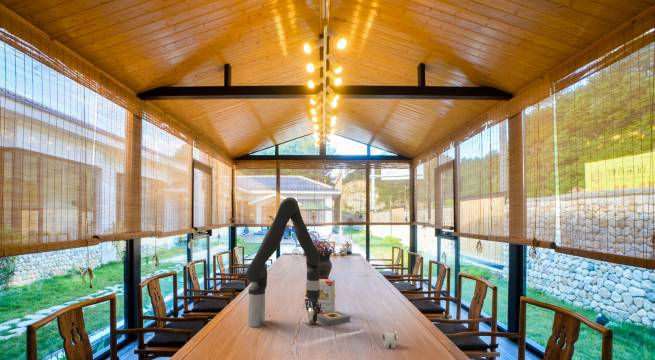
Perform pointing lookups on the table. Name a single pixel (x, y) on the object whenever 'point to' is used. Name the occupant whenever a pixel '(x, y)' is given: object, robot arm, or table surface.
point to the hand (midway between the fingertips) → (312, 320)
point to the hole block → (333, 318)
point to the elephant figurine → (389, 339)
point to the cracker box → (327, 296)
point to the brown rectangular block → (313, 325)
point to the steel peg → (311, 317)
